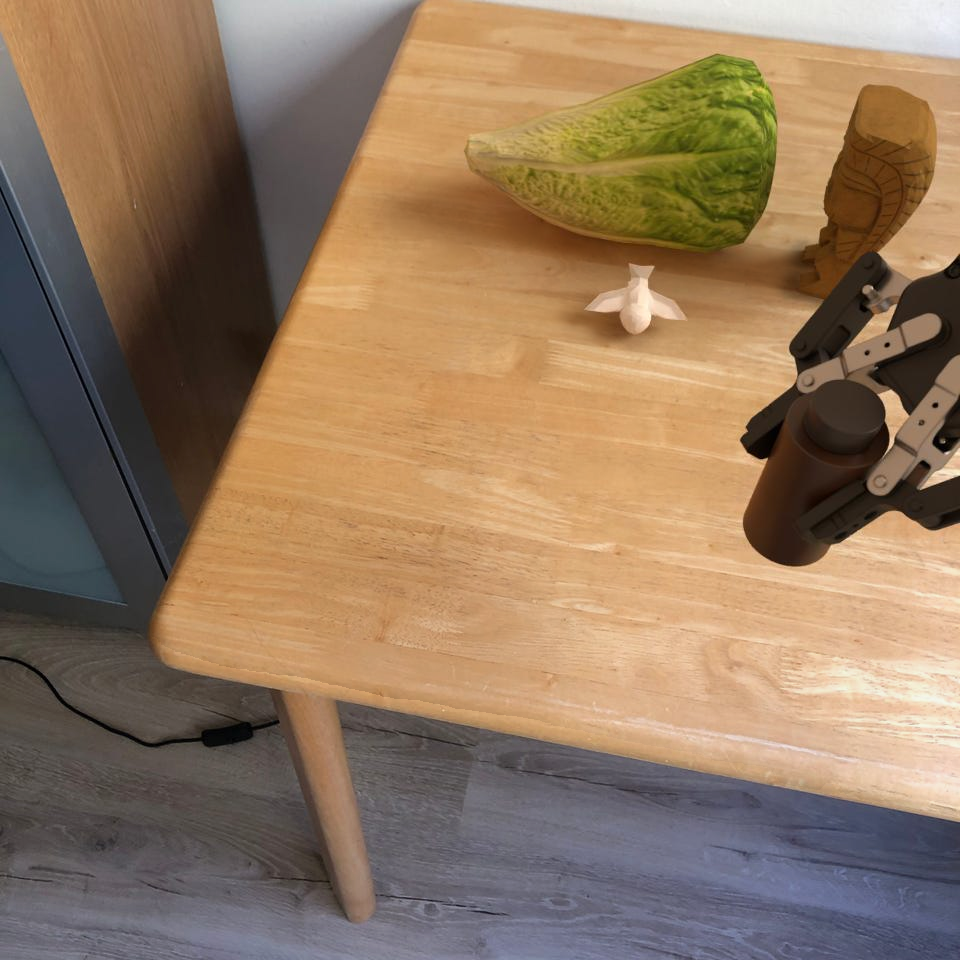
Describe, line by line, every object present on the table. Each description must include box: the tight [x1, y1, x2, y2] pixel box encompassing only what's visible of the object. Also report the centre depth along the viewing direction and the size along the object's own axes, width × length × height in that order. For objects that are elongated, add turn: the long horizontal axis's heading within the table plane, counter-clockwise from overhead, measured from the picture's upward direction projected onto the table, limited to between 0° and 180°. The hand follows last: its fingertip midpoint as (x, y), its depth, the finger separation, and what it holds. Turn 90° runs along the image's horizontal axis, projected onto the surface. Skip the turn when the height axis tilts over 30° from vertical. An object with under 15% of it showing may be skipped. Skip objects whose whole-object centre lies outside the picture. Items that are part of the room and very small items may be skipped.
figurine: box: [796, 83, 938, 300], centre depth 73 cm, size 7×7×15 cm
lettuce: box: [463, 53, 778, 253], centre depth 78 cm, size 14×24×15 cm
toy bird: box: [583, 262, 688, 335], centre depth 74 cm, size 8×5×5 cm, turn 83°
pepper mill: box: [742, 379, 891, 568], centre depth 47 cm, size 5×5×10 cm
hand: (777, 491), depth 47 cm, fingers closed on pepper mill, 4 cm apart
